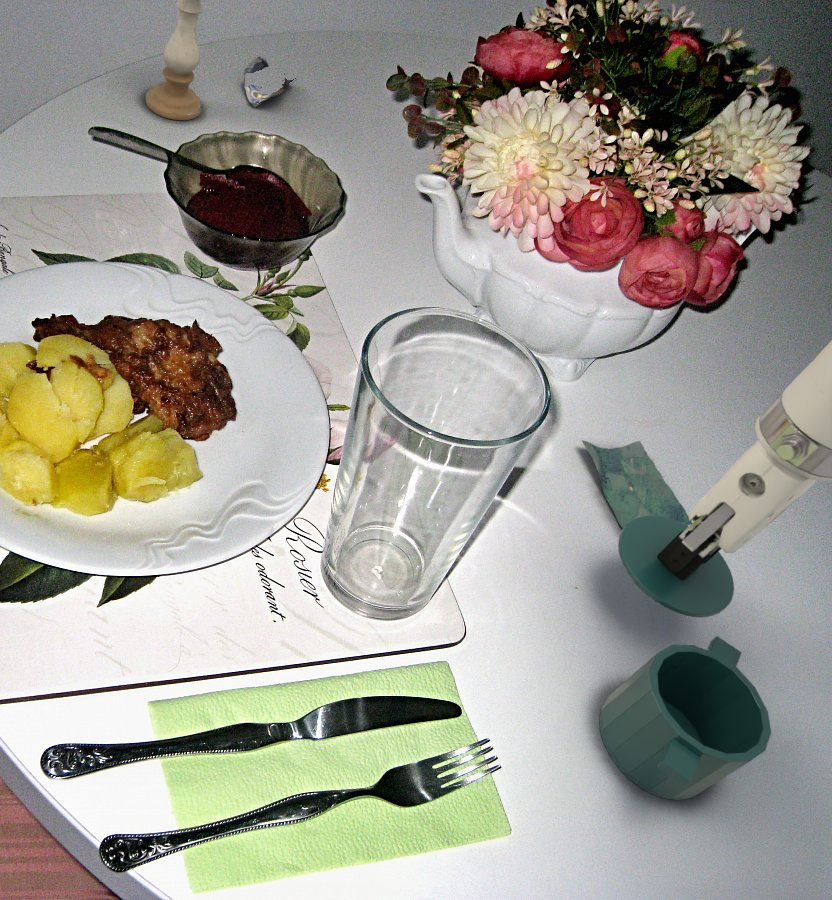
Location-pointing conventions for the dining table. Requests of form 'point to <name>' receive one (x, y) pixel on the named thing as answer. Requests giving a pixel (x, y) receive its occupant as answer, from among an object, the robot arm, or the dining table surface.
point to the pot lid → (688, 597)
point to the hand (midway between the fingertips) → (681, 559)
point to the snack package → (257, 93)
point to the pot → (685, 720)
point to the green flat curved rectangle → (634, 484)
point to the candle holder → (179, 68)
